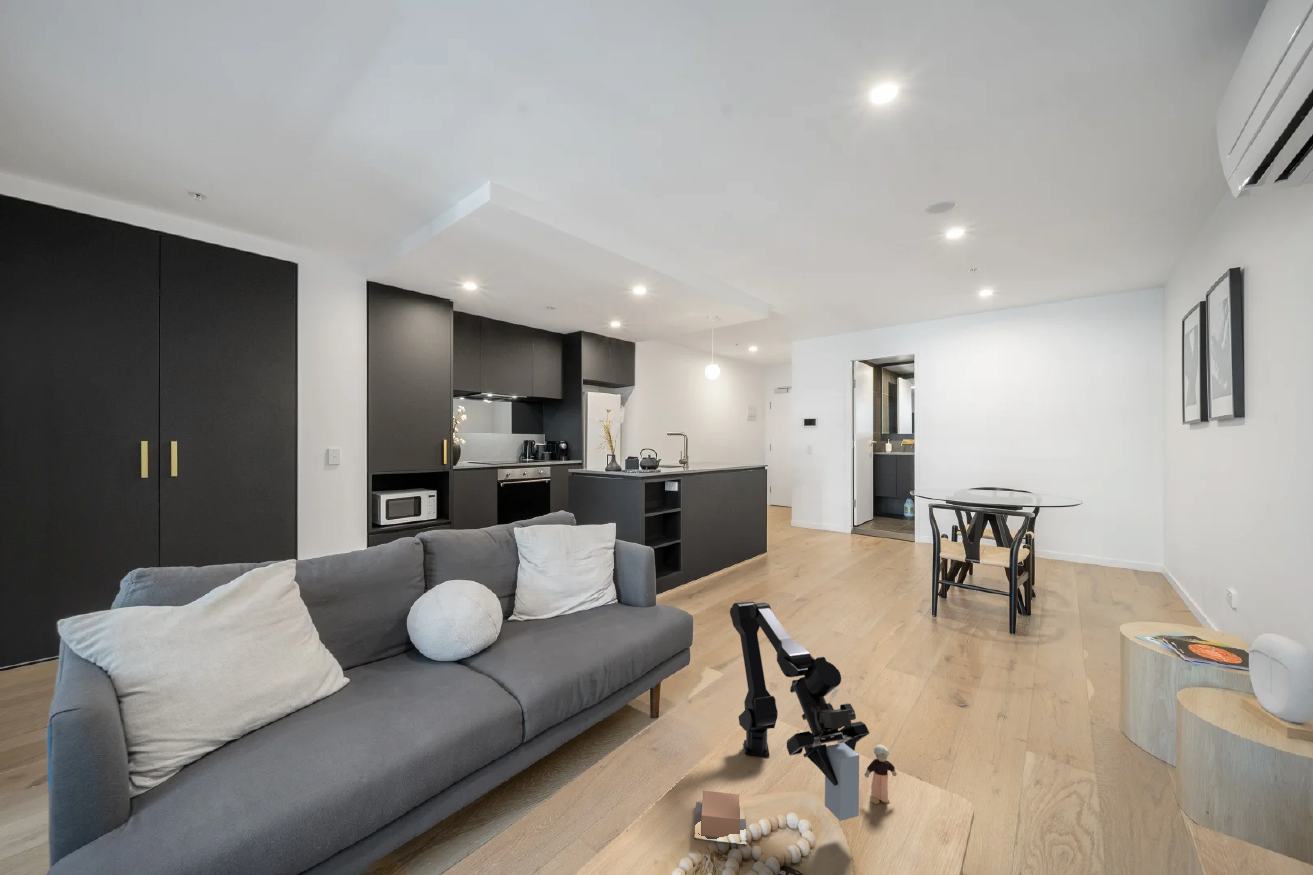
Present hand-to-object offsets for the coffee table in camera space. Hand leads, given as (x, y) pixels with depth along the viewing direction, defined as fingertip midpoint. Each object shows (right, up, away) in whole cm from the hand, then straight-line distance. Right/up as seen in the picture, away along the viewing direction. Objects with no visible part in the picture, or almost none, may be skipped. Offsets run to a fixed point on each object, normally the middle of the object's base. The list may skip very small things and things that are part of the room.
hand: (846, 782), depth 105 cm
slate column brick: (-1, -7, +1) cm, 7 cm away
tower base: (-26, -12, +2) cm, 29 cm away
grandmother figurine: (+13, -13, +13) cm, 23 cm away
